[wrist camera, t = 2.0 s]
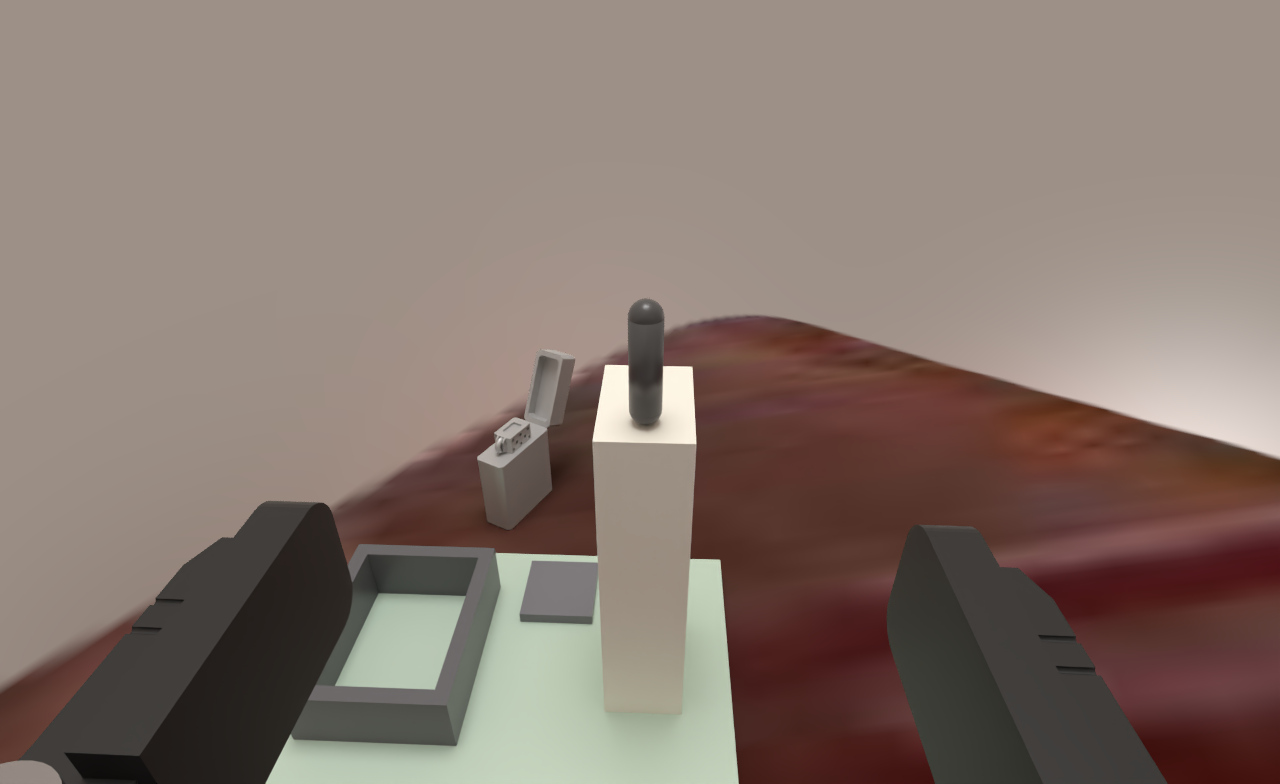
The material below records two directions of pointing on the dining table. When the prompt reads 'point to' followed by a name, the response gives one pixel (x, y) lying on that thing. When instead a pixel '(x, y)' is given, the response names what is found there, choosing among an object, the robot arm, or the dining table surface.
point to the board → (501, 680)
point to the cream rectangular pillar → (644, 519)
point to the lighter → (526, 445)
